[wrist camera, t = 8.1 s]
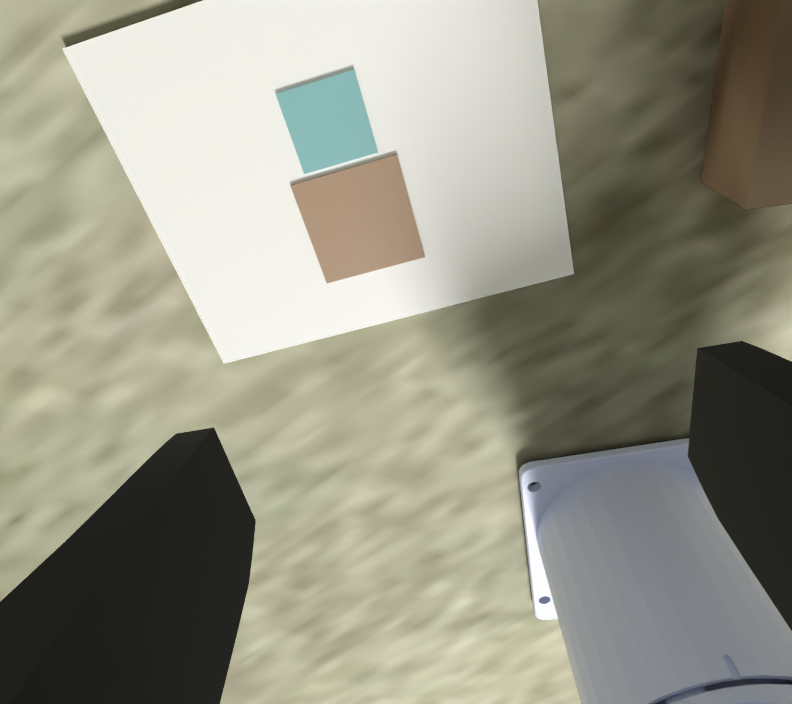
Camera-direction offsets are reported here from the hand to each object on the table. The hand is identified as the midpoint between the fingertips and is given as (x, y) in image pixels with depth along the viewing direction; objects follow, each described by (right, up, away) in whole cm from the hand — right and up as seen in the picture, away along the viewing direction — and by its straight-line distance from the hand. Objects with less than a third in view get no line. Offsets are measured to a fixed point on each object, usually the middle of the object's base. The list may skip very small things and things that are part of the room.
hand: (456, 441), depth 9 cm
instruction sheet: (-2, +7, +8) cm, 11 cm away
